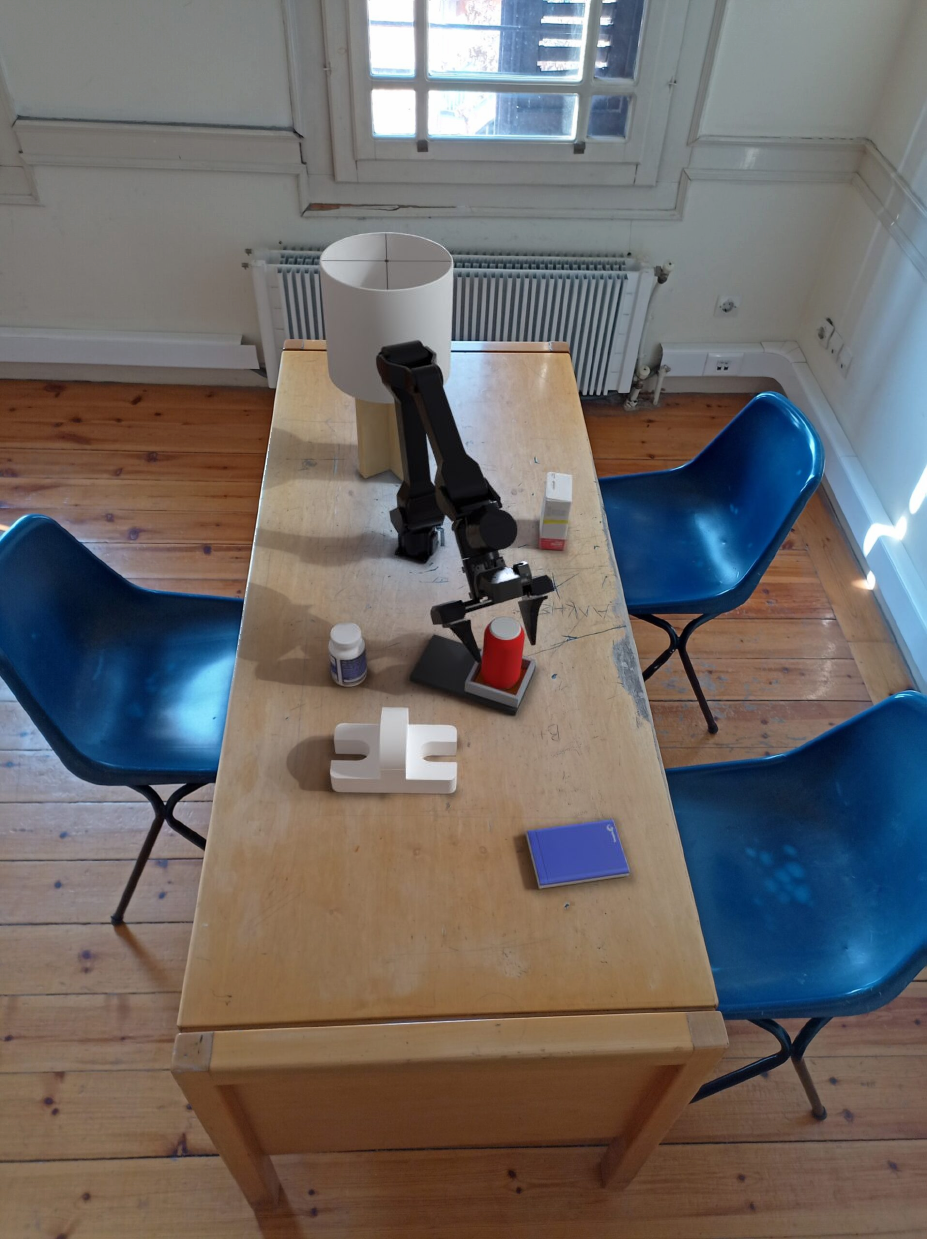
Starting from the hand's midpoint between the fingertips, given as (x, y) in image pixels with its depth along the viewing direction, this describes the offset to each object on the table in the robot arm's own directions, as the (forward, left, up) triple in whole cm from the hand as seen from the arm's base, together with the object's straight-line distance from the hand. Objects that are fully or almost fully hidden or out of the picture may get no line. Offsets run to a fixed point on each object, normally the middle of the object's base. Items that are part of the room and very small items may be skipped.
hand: (506, 653), depth 131 cm
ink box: (-4, +39, -9) cm, 41 cm away
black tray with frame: (-6, +1, -9) cm, 10 cm away
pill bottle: (-24, -7, -9) cm, 27 cm away
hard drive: (+19, -24, -9) cm, 32 cm away
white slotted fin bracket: (-10, -20, -9) cm, 24 cm away
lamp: (-41, +47, -9) cm, 63 cm away
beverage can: (-1, +1, -8) cm, 8 cm away
